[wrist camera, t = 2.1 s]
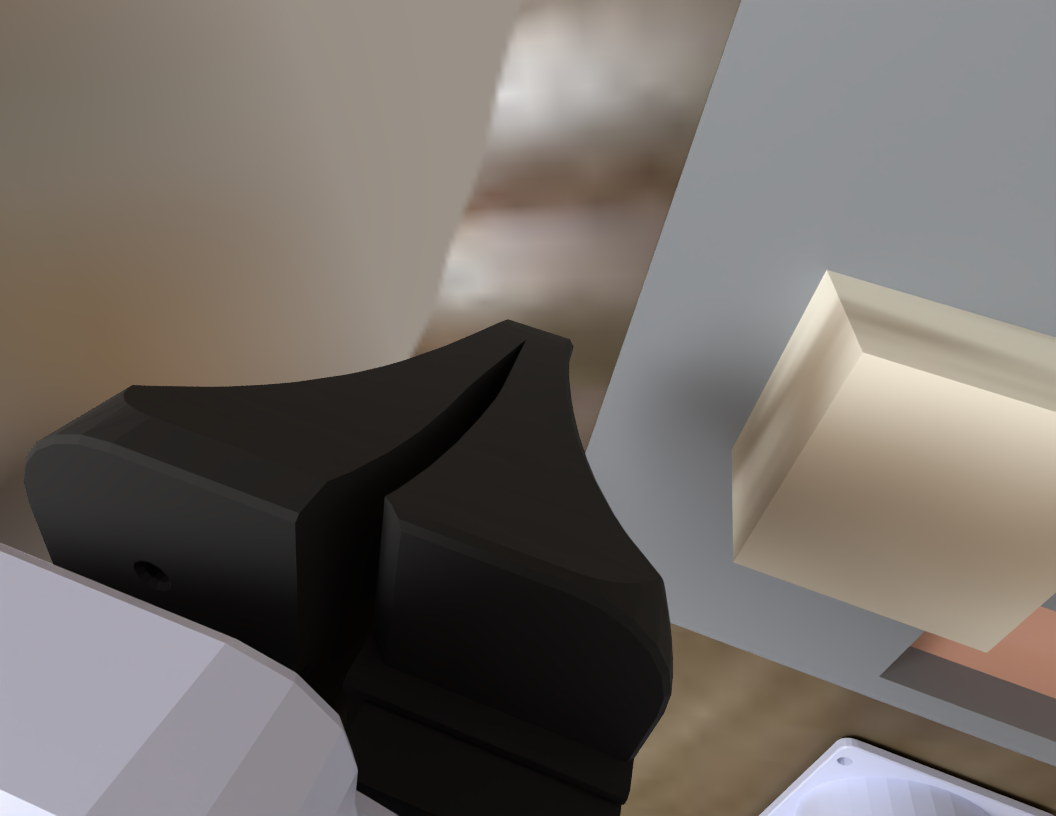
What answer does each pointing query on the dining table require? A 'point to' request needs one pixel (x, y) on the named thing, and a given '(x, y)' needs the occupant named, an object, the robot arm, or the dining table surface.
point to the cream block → (905, 463)
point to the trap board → (790, 282)
